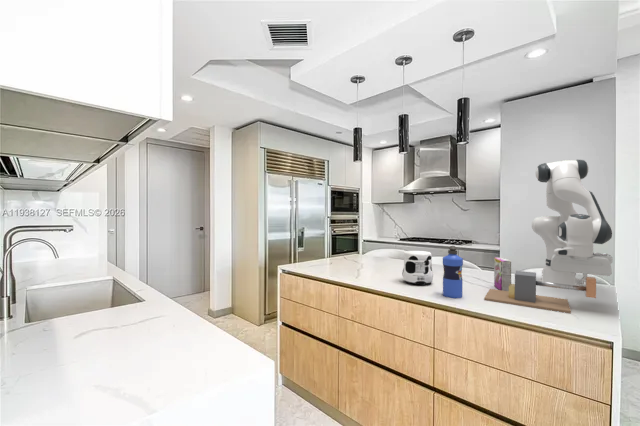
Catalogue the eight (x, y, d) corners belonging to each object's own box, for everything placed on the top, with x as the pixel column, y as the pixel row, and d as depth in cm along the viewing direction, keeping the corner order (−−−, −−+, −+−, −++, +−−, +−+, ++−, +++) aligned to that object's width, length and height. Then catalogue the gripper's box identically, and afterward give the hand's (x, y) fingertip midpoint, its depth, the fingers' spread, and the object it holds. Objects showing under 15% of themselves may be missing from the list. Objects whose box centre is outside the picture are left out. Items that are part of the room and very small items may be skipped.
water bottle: (439, 295, 152) (439, 246, 152) (446, 291, 159) (446, 244, 159) (459, 299, 146) (459, 247, 146) (465, 295, 153) (465, 245, 153)
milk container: (415, 278, 191) (415, 249, 191) (439, 283, 177) (439, 252, 176) (396, 281, 182) (396, 251, 182) (419, 288, 167) (419, 255, 167)
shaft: (526, 287, 145) (526, 270, 145) (594, 295, 131) (594, 277, 131) (525, 289, 142) (525, 272, 142) (595, 298, 128) (596, 279, 127)
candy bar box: (493, 286, 170) (493, 257, 170) (503, 286, 169) (503, 257, 169) (501, 291, 159) (501, 260, 159) (511, 292, 158) (511, 261, 158)
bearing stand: (489, 290, 161) (490, 266, 161) (567, 301, 143) (567, 273, 142) (484, 300, 145) (484, 272, 145) (570, 313, 126) (571, 282, 126)
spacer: (509, 294, 150) (509, 283, 150) (515, 295, 149) (515, 284, 149) (508, 297, 146) (508, 286, 145) (514, 298, 144) (514, 286, 144)
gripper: (611, 252, 128) (610, 285, 129) (550, 249, 140) (550, 278, 141) (613, 254, 123) (613, 288, 124) (550, 250, 135) (550, 281, 136)
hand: (579, 283), depth 132 cm, fingers closed
